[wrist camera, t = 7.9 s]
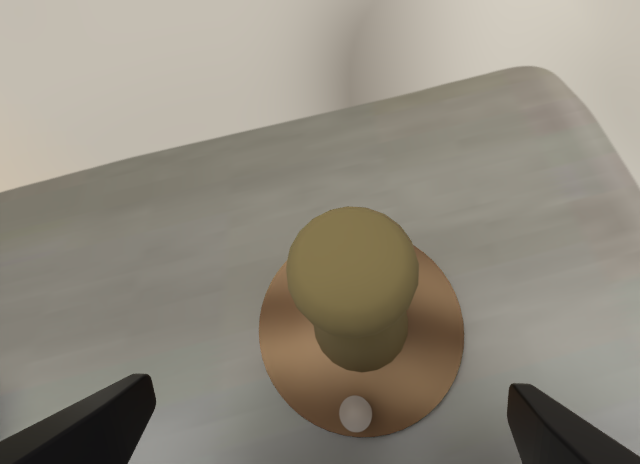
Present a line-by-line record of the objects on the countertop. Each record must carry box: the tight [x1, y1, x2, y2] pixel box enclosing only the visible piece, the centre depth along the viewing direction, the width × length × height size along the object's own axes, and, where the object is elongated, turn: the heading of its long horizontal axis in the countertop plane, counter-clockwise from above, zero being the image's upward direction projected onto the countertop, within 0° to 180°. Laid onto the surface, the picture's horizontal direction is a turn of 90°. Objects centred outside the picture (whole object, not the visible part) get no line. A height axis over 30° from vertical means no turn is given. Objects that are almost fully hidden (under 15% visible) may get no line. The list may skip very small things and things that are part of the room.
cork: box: [286, 207, 419, 373], centre depth 17 cm, size 6×6×11 cm
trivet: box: [259, 245, 464, 437], centre depth 21 cm, size 13×13×4 cm
